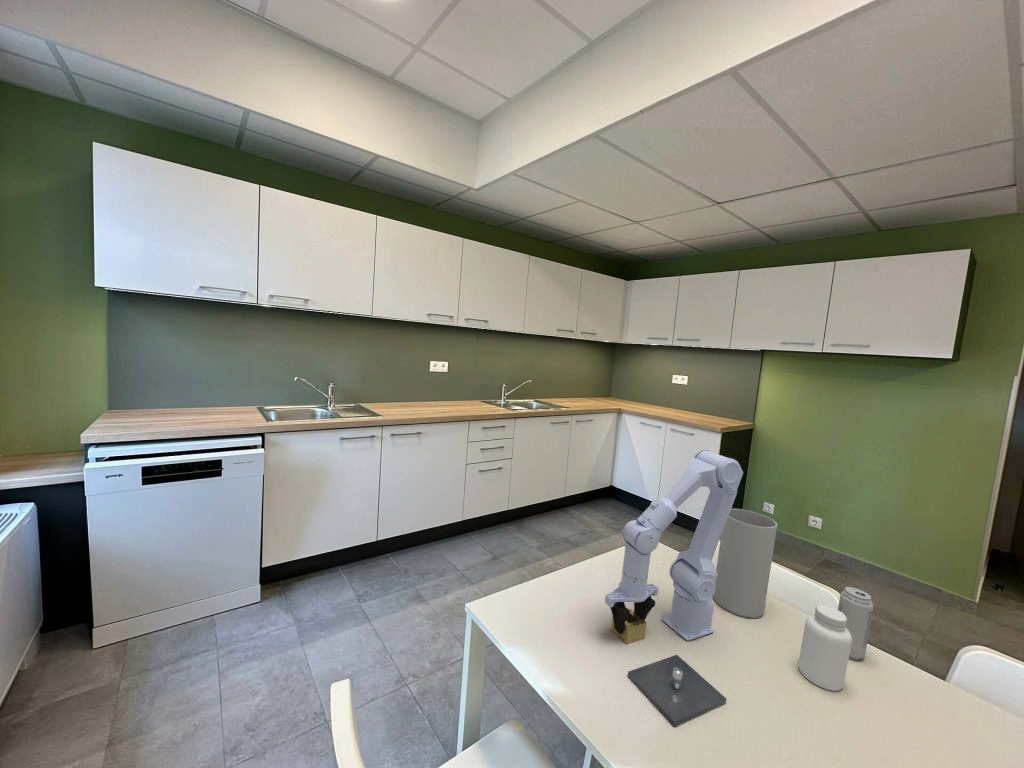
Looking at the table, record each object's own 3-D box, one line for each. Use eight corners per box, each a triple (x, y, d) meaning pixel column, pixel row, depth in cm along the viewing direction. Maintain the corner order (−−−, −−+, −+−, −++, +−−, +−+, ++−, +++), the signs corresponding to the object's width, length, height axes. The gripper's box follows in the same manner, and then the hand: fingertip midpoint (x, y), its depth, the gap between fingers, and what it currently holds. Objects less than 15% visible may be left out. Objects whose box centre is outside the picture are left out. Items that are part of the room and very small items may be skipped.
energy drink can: (830, 639, 101) (840, 582, 99) (862, 651, 97) (872, 592, 96) (832, 653, 96) (842, 592, 94) (866, 666, 92) (876, 604, 91)
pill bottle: (832, 697, 82) (843, 628, 81) (790, 668, 89) (800, 604, 88) (851, 685, 86) (862, 619, 85) (809, 659, 93) (819, 597, 92)
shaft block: (676, 658, 89) (678, 641, 89) (725, 703, 78) (728, 684, 78) (627, 676, 83) (629, 657, 82) (674, 727, 72) (677, 706, 72)
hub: (628, 624, 99) (630, 608, 99) (644, 638, 94) (646, 622, 94) (611, 628, 97) (612, 613, 96) (626, 644, 92) (628, 627, 92)
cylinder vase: (707, 603, 111) (719, 515, 109) (718, 585, 121) (730, 505, 119) (759, 626, 103) (773, 532, 101) (767, 605, 113) (780, 519, 111)
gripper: (645, 560, 101) (639, 611, 102) (599, 569, 95) (593, 623, 96) (667, 575, 95) (660, 629, 96) (619, 586, 88) (612, 644, 89)
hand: (628, 628), depth 95 cm, fingers closed on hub, 5 cm apart
